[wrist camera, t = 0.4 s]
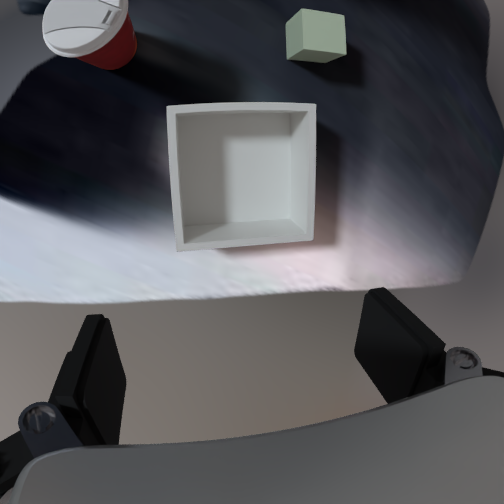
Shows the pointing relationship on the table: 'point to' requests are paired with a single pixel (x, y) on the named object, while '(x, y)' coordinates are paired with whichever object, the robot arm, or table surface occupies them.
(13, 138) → the table surface
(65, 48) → the paper cup
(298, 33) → the green block
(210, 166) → the bin
